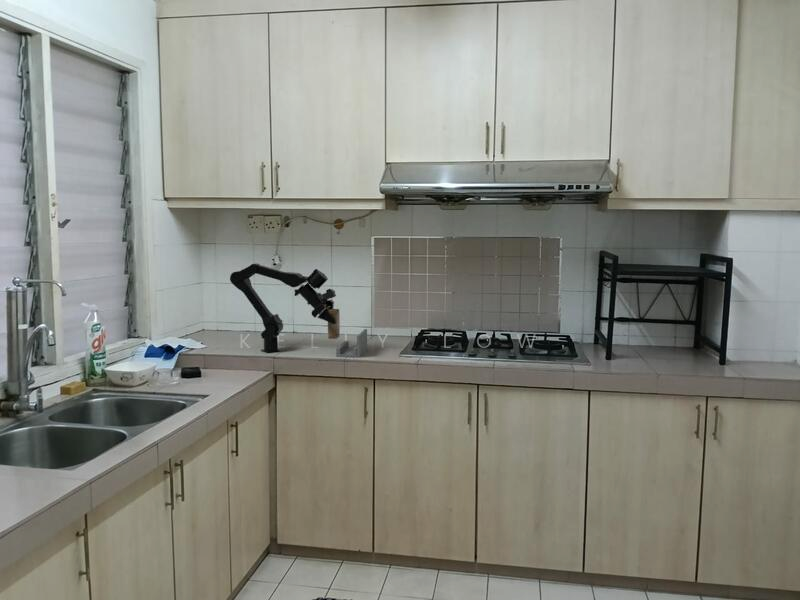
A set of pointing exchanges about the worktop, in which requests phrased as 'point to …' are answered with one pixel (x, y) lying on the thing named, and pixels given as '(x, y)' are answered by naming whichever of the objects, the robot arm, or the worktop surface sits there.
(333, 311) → the brown wooden block
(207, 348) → the worktop surface
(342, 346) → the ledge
